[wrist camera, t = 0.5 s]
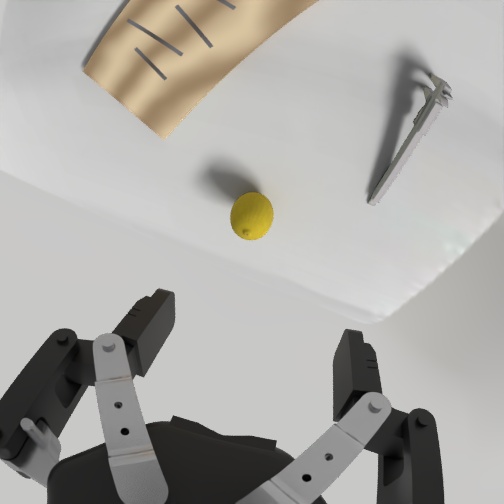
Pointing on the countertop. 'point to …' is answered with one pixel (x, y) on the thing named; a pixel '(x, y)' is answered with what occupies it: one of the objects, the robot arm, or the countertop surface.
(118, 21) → the plywood board
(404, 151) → the caliper
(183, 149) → the countertop surface
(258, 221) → the lemon
